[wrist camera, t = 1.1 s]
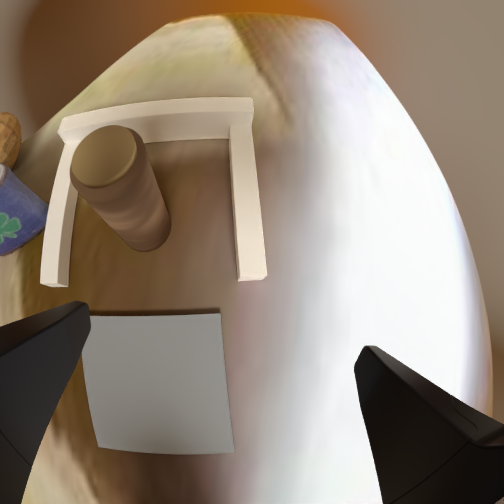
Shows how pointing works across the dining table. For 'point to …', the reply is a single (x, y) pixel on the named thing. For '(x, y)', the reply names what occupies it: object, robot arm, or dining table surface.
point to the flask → (18, 213)
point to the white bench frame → (159, 130)
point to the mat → (158, 384)
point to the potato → (9, 139)
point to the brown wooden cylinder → (121, 186)
